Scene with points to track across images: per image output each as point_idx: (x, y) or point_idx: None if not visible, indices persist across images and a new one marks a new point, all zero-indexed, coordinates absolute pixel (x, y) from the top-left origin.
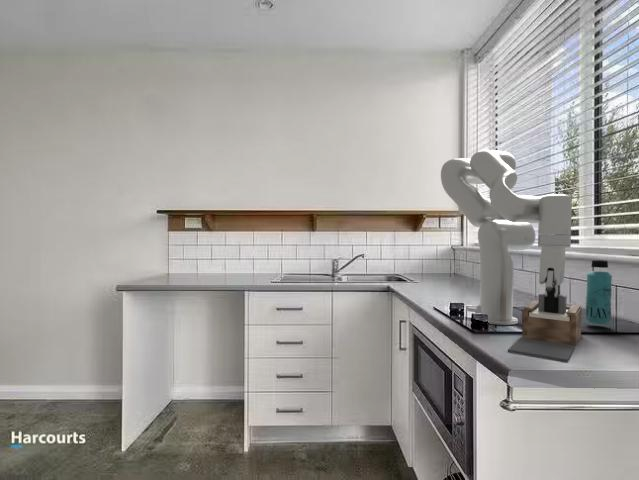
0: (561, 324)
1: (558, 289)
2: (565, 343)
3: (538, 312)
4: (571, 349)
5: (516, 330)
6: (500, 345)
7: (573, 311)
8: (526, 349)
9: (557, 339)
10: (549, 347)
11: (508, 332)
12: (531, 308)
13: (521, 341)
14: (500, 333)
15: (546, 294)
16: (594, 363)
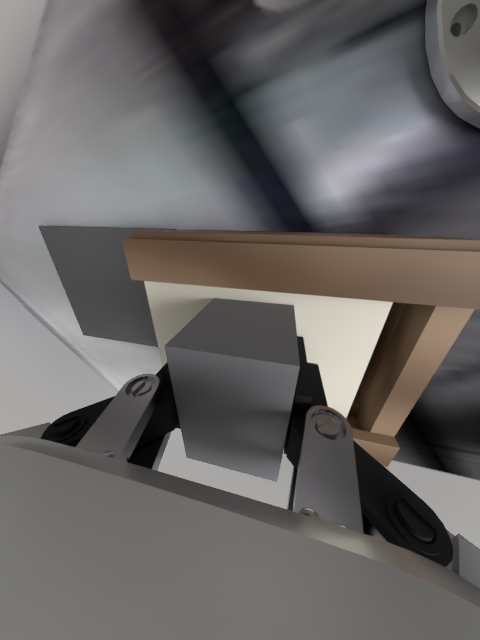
0: None
1: (290, 499)
2: None
3: (178, 300)
4: (153, 344)
5: (323, 179)
6: (77, 190)
7: None
8: (76, 264)
9: None
10: (132, 307)
11: (261, 158)
12: (132, 278)
13: None
14: (221, 131)
15: (125, 392)
16: (119, 365)
